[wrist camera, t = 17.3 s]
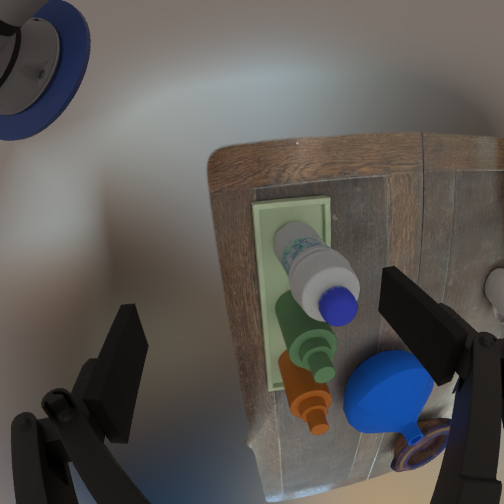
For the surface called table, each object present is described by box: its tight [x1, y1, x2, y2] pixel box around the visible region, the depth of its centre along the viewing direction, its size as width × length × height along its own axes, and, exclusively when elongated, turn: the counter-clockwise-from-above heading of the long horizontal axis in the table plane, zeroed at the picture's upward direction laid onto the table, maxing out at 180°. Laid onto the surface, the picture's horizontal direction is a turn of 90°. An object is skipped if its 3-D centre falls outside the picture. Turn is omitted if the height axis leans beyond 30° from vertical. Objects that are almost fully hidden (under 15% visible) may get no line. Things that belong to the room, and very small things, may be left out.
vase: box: [343, 350, 433, 445], centre depth 48 cm, size 18×18×19 cm
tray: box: [251, 195, 331, 392], centre depth 48 cm, size 34×11×2 cm, turn 5°
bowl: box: [391, 418, 451, 472], centre depth 64 cm, size 18×18×10 cm
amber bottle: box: [278, 350, 332, 435], centre depth 44 cm, size 6×6×16 cm
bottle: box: [274, 222, 360, 326], centre depth 35 cm, size 7×7×20 cm
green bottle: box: [275, 290, 337, 383], centre depth 41 cm, size 6×6×16 cm
